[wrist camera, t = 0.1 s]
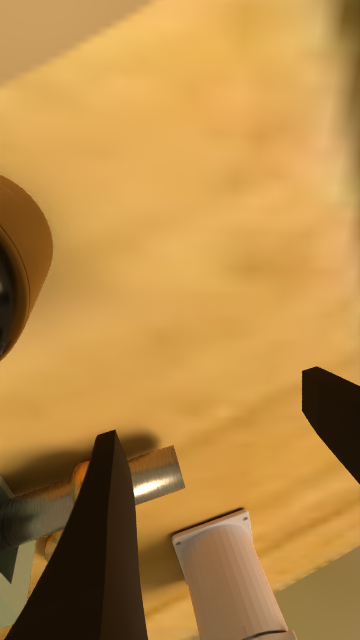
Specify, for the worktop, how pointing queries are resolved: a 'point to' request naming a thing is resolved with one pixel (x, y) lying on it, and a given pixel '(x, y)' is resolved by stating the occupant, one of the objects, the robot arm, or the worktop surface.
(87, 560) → the robot arm
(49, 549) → the spacer
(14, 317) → the supplement bottle
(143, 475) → the shaft
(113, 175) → the worktop surface
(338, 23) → the worktop surface
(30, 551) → the block
